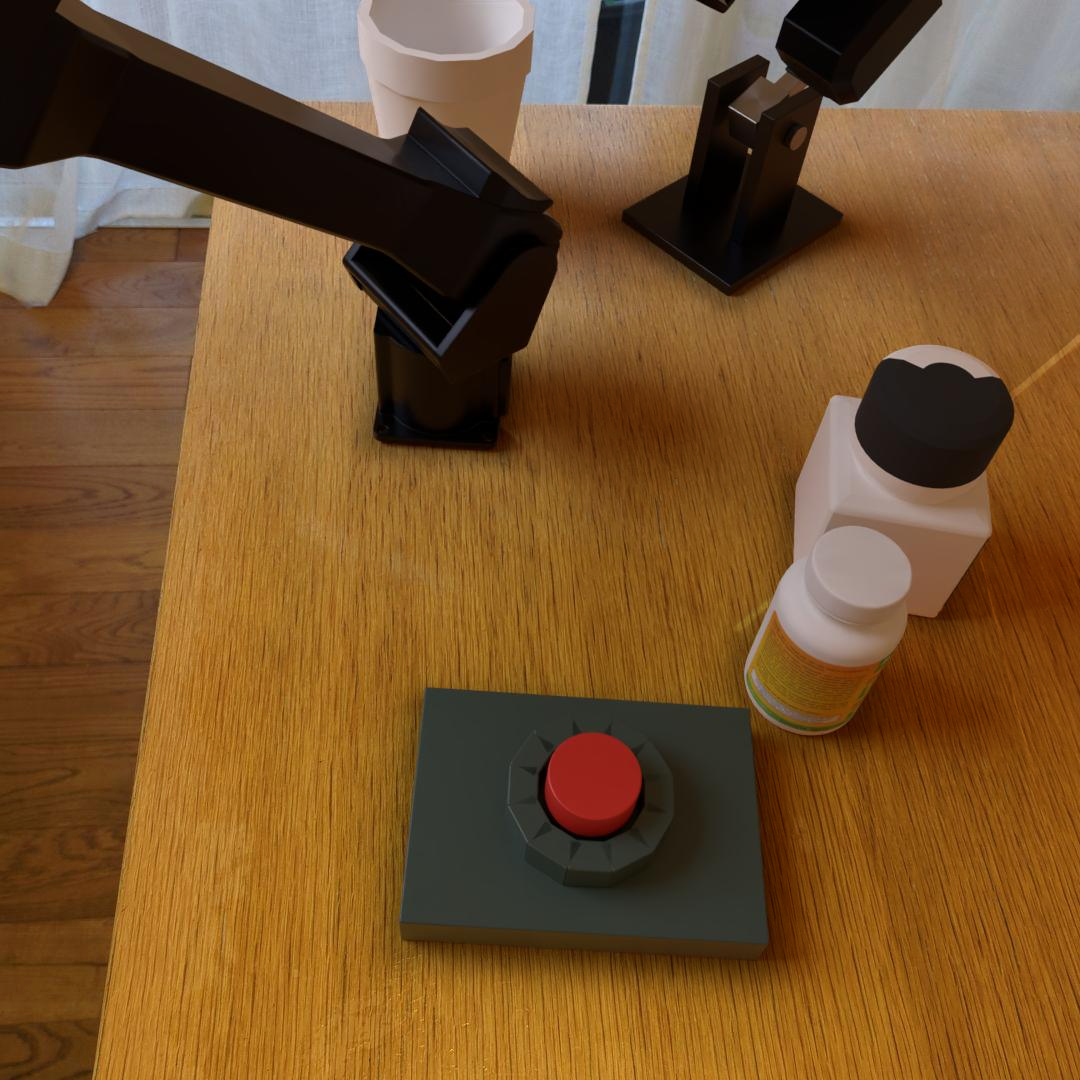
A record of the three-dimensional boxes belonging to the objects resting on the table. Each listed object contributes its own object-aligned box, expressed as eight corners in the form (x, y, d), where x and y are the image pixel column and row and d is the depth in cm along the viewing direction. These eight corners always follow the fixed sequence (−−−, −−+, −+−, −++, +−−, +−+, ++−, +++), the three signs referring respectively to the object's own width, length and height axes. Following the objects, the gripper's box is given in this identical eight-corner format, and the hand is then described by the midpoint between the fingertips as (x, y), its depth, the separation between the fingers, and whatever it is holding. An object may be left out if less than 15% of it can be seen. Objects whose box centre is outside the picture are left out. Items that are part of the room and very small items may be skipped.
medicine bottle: (937, 621, 54) (1044, 461, 44) (790, 596, 54) (865, 432, 45) (929, 507, 58) (1026, 338, 49) (793, 485, 58) (862, 312, 49)
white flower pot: (382, 162, 72) (371, -40, 62) (525, 173, 73) (538, -26, 62) (363, 257, 67) (347, 53, 56) (517, 270, 67) (530, 69, 57)
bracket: (734, 161, 75) (768, 20, 67) (839, 229, 72) (888, 89, 64) (619, 225, 70) (641, 82, 62) (726, 302, 67) (763, 160, 59)
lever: (858, 10, 68) (862, -31, 65) (898, 32, 67) (903, -9, 64) (723, 136, 66) (722, 98, 63) (762, 160, 65) (761, 123, 62)
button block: (400, 940, 43) (396, 906, 40) (425, 710, 49) (424, 665, 46) (756, 961, 44) (781, 929, 41) (739, 730, 50) (759, 687, 47)
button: (542, 834, 43) (546, 816, 41) (545, 748, 45) (549, 728, 43) (636, 840, 43) (643, 823, 41) (635, 754, 45) (641, 734, 43)
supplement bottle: (856, 750, 50) (933, 636, 42) (736, 724, 50) (790, 607, 42) (860, 648, 53) (932, 525, 45) (747, 625, 53) (799, 498, 45)
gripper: (1025, -265, 39) (1048, -3, 53) (669, -420, 47) (769, -158, 61) (802, 1, 41) (880, 186, 55) (499, -191, 49) (633, 12, 63)
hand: (788, 45), depth 58 cm, fingers open, 9 cm apart
